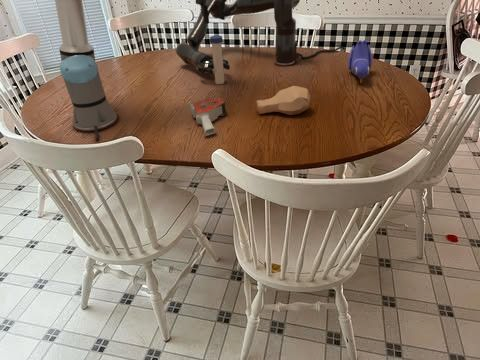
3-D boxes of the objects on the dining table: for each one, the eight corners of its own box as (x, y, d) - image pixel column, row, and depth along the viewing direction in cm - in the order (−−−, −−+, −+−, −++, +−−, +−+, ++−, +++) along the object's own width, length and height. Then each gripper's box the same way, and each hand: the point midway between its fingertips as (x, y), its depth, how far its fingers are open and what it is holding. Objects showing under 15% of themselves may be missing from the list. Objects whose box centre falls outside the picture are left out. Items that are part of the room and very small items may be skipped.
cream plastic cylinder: (219, 84, 158) (215, 40, 146) (213, 82, 160) (209, 38, 149) (226, 82, 160) (223, 37, 148) (220, 80, 162) (216, 36, 151)
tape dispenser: (210, 142, 120) (241, 115, 132) (208, 128, 116) (241, 102, 129) (170, 128, 127) (203, 104, 139) (167, 115, 124) (202, 91, 136)
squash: (314, 116, 128) (313, 95, 122) (259, 125, 130) (256, 105, 124) (308, 99, 136) (307, 78, 129) (257, 108, 138) (253, 88, 131)
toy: (346, 77, 167) (349, 86, 145) (348, 39, 161) (352, 42, 138) (368, 76, 165) (375, 85, 143) (371, 38, 158) (379, 41, 136)
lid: (215, 44, 147) (214, 39, 145) (207, 42, 150) (207, 37, 149) (225, 41, 149) (224, 36, 148) (217, 39, 153) (216, 34, 151)
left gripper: (191, -43, 124) (199, 27, 138) (236, -48, 134) (239, 17, 147) (180, -43, 129) (188, 24, 142) (224, -48, 139) (228, 15, 152)
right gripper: (215, 65, 172) (234, 74, 161) (189, 72, 165) (207, 82, 154) (214, 49, 167) (233, 57, 156) (187, 56, 161) (205, 65, 150)
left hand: (214, 21), depth 145 cm, fingers open, 7 cm apart
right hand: (220, 69), depth 155 cm, fingers open, 8 cm apart
